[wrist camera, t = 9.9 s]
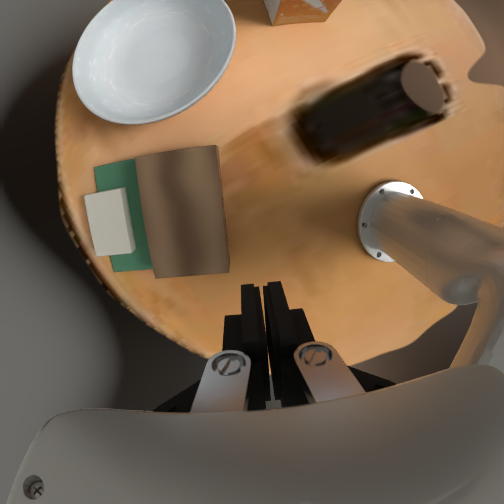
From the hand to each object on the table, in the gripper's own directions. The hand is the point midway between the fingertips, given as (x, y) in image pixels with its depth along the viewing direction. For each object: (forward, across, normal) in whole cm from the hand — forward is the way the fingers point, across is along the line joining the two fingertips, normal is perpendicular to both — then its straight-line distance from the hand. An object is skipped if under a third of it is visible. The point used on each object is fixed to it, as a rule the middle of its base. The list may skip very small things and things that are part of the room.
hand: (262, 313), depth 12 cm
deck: (+27, +8, 0) cm, 28 cm away
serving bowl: (+27, +10, -22) cm, 36 cm away
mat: (+27, +17, 0) cm, 32 cm away
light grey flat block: (+25, +19, 0) cm, 31 cm away
